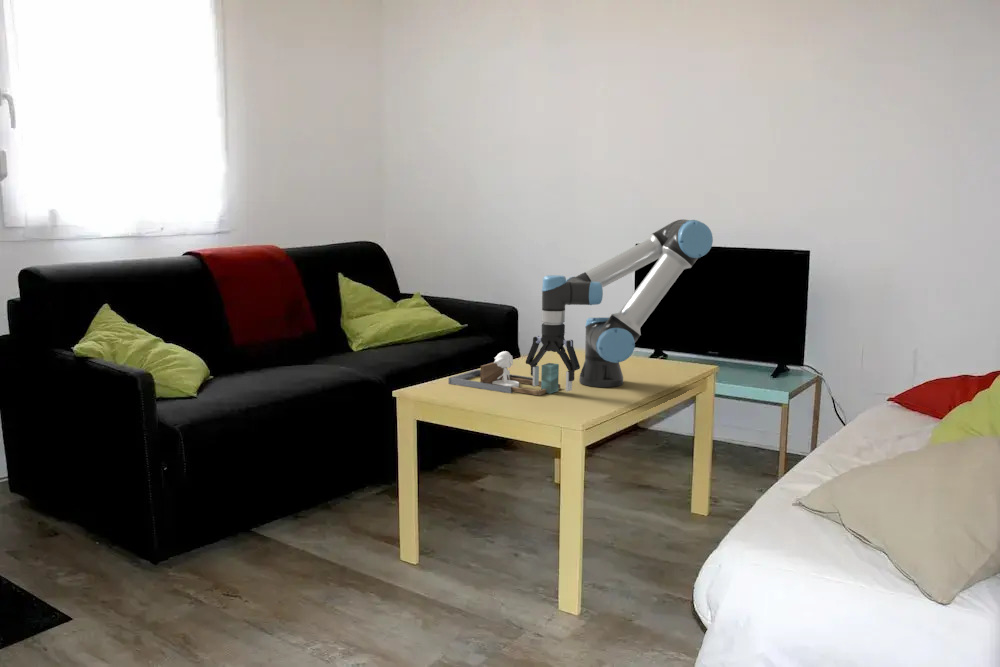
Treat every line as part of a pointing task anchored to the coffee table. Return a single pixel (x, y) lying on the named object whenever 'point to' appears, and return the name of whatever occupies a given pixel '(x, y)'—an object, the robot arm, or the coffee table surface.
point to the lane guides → (463, 382)
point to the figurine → (505, 369)
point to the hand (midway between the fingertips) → (551, 388)
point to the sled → (547, 379)
